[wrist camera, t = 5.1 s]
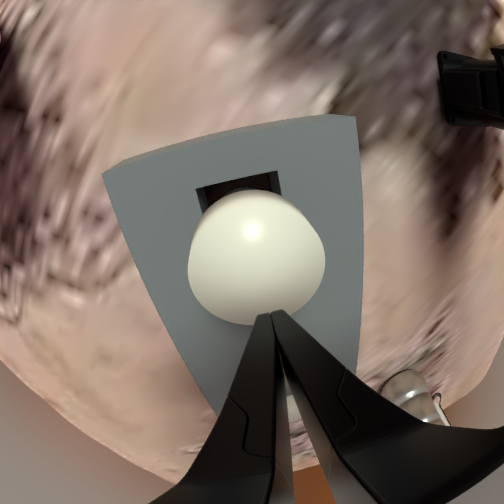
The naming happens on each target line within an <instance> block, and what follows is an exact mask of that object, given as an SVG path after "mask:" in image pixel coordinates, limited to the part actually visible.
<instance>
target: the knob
mask: <svg viewBox="0 0 504 504" xmlns="http://www.w3.org/2000/svg"><path fill="white" fill-rule="evenodd" d="M324 269H325V253H324V248H323V245H322V242H321V240H320V238H319V236H318V234H317V233H316V231H315V230H314V229H313V227H312V226H311V225H310V223H309V222H308V220H307V219H306V218H305V216H304V215H303V214H302V212H301V211H300V210H299V209H298V208H297V207H296V206H295V205H294V204H293V203H292V202H291V201H289V200H288V199H286V198H284V197H283V196H281V195H278V194H276V193H273V192H269V191H264V190H258V189H255V188H251V187H240V188H236V189H233V190H231V191H229V192H227V193H226V194H225V195H223V196H222V197H221V198H220V200H218V201H216V202H215V203H214V204H213V205H211V206H210V207H209V208H208V209H207V210H206V211H205V212H204V213H203V215H202V216H201V218H200V219H199V221H198V223H197V225H196V227H195V230H194V233H193V237H192V243H191V249H190V254H189V261H188V279H189V283H190V287H191V289H192V291H193V294H194V295H195V297H196V298H197V300H198V301H199V302H200V304H201V305H202V306H203V307H204V308H205V309H207V310H208V311H209V312H210V313H212V314H213V315H215V316H217V317H219V318H221V319H223V320H226V321H228V322H232V323H236V324H243V325H253V324H254V322H255V319H256V316H257V315H258V314H263V313H267V312H269V313H271V312H272V311H275V310H279V309H283V310H284V311H286V312H287V313H288V314H289V315H291V314H293V313H294V312H296V311H297V310H299V309H300V308H301V307H303V306H304V305H305V304H306V303H307V302H308V301H309V300H310V299H311V297H312V296H313V295H314V294H315V292H316V290H317V289H318V287H319V285H320V283H321V281H322V278H323V274H324Z"/></svg>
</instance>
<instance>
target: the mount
mask: <svg viewBox="0 0 504 504" xmlns="http://www.w3.org/2000/svg"><path fill="white" fill-rule="evenodd" d="M266 172H268V173H269V178H270V184H271V189H272V192H273V193H276V194H278V195H281V196H283V197H284V198H286V199H288V200H289V201H291V202H292V203H293V204H294V205H295V206H296V207H297V208H298V209H299V210H300V211H301V212H302V214H303V215H304V216H305V218H306V219H307V220H308V222H309V223H310V225H311V226H312V227H313V229H314V230H315V231H316V233H317V234H318V236H319V238H320V240H321V242H322V245H323V248H324V253H325V269H324V274H323V278H322V281H321V283H320V285H319V287H318V289H317V290H316V292H315V294H314V295H313V296H312V297H311V299H310V300H309V301H308V302H307V303H306V304H305V305H304V306H303V307H301V308H300V309H299V310H297V311H296V312H294V313H293V314H291V315H290V316H291V317H292V318H293V319H294V320H295V321H296V322H297V323H298V324H299V325H301V326H302V327H303V328H304V329H305V330H306V331H307V332H308V333H309V334H310V335H311V336H312V337H314V338H315V339H316V340H317V341H318V342H319V343H320V344H321V345H322V346H323V347H324V348H326V349H327V350H328V351H329V352H330V353H331V354H332V355H333V356H334V357H335V358H336V359H338V360H339V361H340V362H341V363H342V364H343V365H344V366H345V367H346V369H349V370H350V371H351V372H352V373H353V374H354V375H355V374H356V366H357V357H358V348H359V337H360V325H361V311H362V293H363V260H364V232H363V199H362V181H361V167H360V155H359V145H358V135H357V127H356V119H355V117H353V116H344V115H334V114H325V115H316V116H308V117H301V118H294V119H287V120H281V121H275V122H269V123H263V124H258V125H252V126H247V127H242V128H238V129H233V130H228V131H224V132H219V133H215V134H211V135H207V136H203V137H199V138H195V139H191V140H187V141H184V142H180V143H177V144H173V145H170V146H166V147H163V148H160V149H156V150H153V151H150V152H147V153H144V154H141V155H138V156H135V157H132V158H129V159H126V160H123V161H121V162H120V163H118V164H116V165H115V166H113V167H112V168H110V169H108V170H107V171H105V172H104V173H102V177H103V180H104V183H105V186H106V189H107V192H108V195H109V198H110V200H111V203H112V206H113V209H114V211H115V214H116V217H117V220H118V222H119V225H120V227H121V230H122V232H123V235H124V238H125V240H126V242H127V245H128V247H129V250H130V252H131V255H132V257H133V259H134V262H135V264H136V266H137V269H138V271H139V273H140V275H141V278H142V280H143V282H144V284H145V286H146V288H147V291H148V293H149V295H150V297H151V299H152V301H153V303H154V305H155V307H156V309H157V311H158V313H159V315H160V317H161V319H162V321H163V323H164V325H165V327H166V329H167V331H168V333H169V335H170V337H171V339H172V340H173V342H174V344H175V346H176V348H177V350H178V352H179V353H180V355H181V357H182V359H183V360H184V362H185V364H186V366H187V367H188V369H189V371H190V373H191V374H192V376H193V378H194V379H195V381H196V383H197V384H198V386H199V388H200V389H201V391H202V393H203V394H204V396H205V397H206V399H207V401H208V402H209V404H210V405H211V407H212V409H213V410H214V412H215V413H216V415H217V416H218V417H219V414H220V412H221V410H222V407H223V405H224V402H225V399H226V398H227V394H228V392H229V389H230V387H231V384H232V381H233V379H234V376H235V373H236V371H237V368H238V365H239V363H240V360H241V357H242V354H243V352H244V349H245V346H246V344H247V341H248V338H249V335H250V333H251V330H252V327H253V325H243V324H236V323H232V322H228V321H226V320H223V319H221V318H219V317H217V316H215V315H213V314H212V313H210V312H209V311H208V310H207V309H205V308H204V307H203V306H202V305H201V304H200V302H199V301H198V300H197V298H196V297H195V295H194V294H193V291H192V289H191V287H190V283H189V279H188V261H189V254H190V249H191V243H192V237H193V233H194V230H195V227H196V225H197V223H198V221H199V219H200V218H201V216H202V215H203V213H204V212H205V211H206V210H207V209H208V208H209V205H208V202H207V198H206V194H205V190H204V186H208V185H212V184H217V183H221V182H225V181H229V180H234V179H238V178H243V177H247V176H252V175H257V174H261V173H266Z"/></svg>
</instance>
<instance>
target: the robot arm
mask: <svg viewBox="0 0 504 504" xmlns="http://www.w3.org/2000/svg"><path fill="white" fill-rule="evenodd" d="M490 50H491V52H492V55H494V58H495V60H479V59H475V58H471V57H468V56H464V55H460V54H456V53H451V52H447V51H439V52H438V58H439V64H440V70H441V76H442V84H443V92H444V101H445V112H446V121H447V123H448V124H449V125H453V126H485V127H489V126H492V127H496V128H499V129H503V130H504V44H503V45H498V46H494V47H490ZM443 55H444V57H443ZM451 118H452V121H451ZM272 323H273V324H272ZM277 344H278V345H277ZM280 357H281V358H280ZM281 361H282V362H281ZM282 365H283V366H282ZM283 370H284V371H283ZM284 373H285V376H286V379H287V382H288V385H289V387H290V390H291V392H292V395H293V397H294V400H295V402H296V405H297V407H298V410H299V412H300V415H301V417H302V420H303V422H304V425H305V427H306V430H307V432H308V435H309V437H310V440H311V442H312V445H313V447H314V450H315V452H316V455H317V457H318V460H319V462H320V465H321V467H322V470H323V472H324V474H325V477H326V479H327V481H328V483H329V487H330V489H331V491H332V494H333V496H334V499H335V501H336V503H337V504H504V426H502V427H500V428H495V429H474V428H463V427H453V426H446V425H438V424H432V423H428V422H425V421H422V420H420V419H418V418H416V417H414V416H413V415H411V414H409V413H408V412H406V411H405V410H403V409H402V408H400V407H398V406H397V405H395V404H394V403H392V402H391V401H389V400H388V399H386V398H385V397H383V396H382V395H380V394H379V393H377V392H376V391H374V390H373V389H372V388H370V387H369V386H367V385H366V384H365V383H364V382H363V381H361V380H360V379H359V378H358V377H357V376H355V375H354V374H353V373H352V372H351V371H350V370H349V369H346V367H345V366H344V365H343V364H342V363H341V362H340V361H339V360H338V359H336V358H335V357H334V356H333V355H332V354H331V353H330V352H329V351H328V350H327V349H326V348H324V347H323V346H322V345H321V344H320V343H319V342H318V341H317V340H316V339H315V338H314V337H312V336H311V335H310V334H309V333H308V332H307V331H306V330H305V329H304V328H303V327H302V326H301V325H299V324H298V323H297V322H296V321H295V320H294V319H293V318H292V317H291V316H290V315H289V314H288V313H287V312H286V311H284V310H283V309H279V310H275V311H272V312H271V313H269V312H267V313H263V314H258V315H257V316H256V319H255V322H254V324H253V327H252V330H251V333H250V335H249V338H248V341H247V344H246V346H245V349H244V352H243V354H242V357H241V360H240V363H239V365H238V368H237V371H236V373H235V376H234V379H233V381H232V384H231V387H230V389H229V392H228V394H227V398H226V399H225V402H224V405H223V407H222V410H221V412H220V414H219V417H218V419H217V421H216V423H215V425H214V427H213V429H212V431H211V433H210V435H209V436H208V438H207V440H206V442H205V443H204V445H203V447H202V449H201V450H200V452H199V454H198V455H197V457H196V459H195V460H194V462H193V464H192V465H191V467H190V469H189V470H188V472H187V473H186V475H185V476H184V477H183V478H182V479H181V480H180V482H178V483H177V484H176V485H175V486H174V487H172V488H171V489H170V490H168V491H167V492H165V493H164V494H162V495H161V496H159V497H158V498H156V499H155V500H153V501H152V502H150V503H148V504H295V500H294V485H293V470H292V456H291V443H290V431H289V419H288V407H287V396H286V385H285V376H284Z"/></svg>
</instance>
